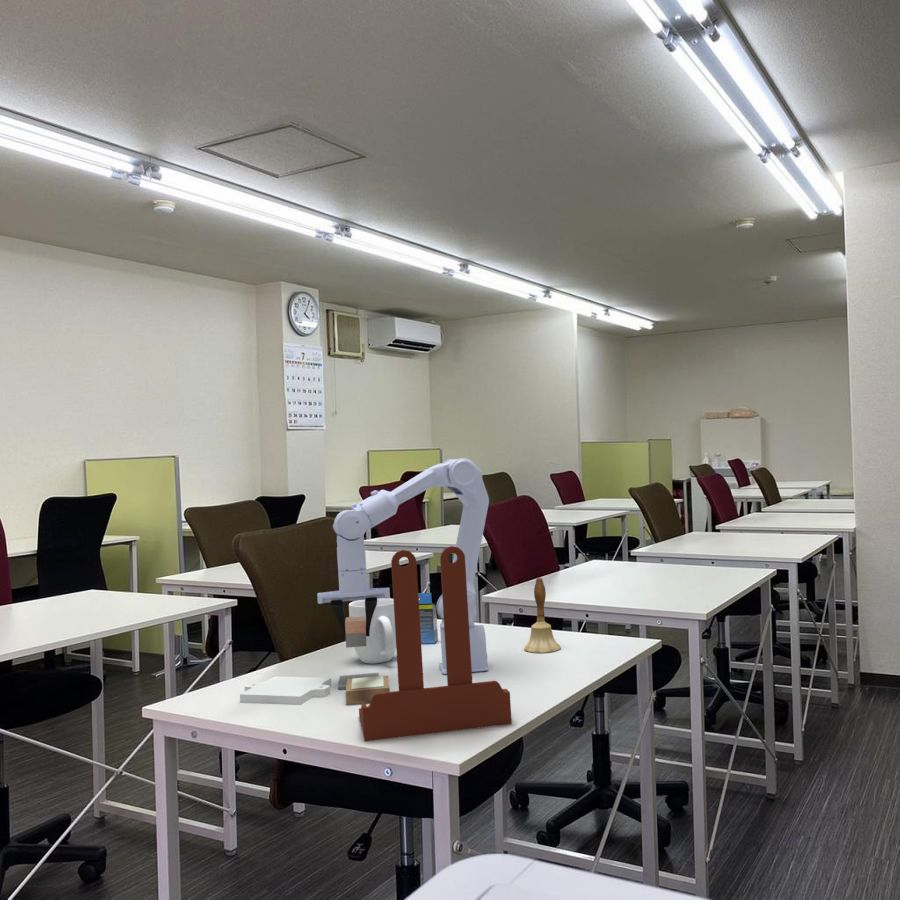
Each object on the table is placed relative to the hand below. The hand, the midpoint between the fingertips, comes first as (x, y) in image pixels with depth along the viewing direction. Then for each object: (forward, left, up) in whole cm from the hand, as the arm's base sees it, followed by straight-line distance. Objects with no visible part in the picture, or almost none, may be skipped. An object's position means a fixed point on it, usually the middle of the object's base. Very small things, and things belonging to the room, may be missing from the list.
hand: (356, 636), depth 172 cm
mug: (-4, -17, -10) cm, 20 cm away
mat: (0, 0, -9) cm, 9 cm away
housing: (0, 0, -2) cm, 2 cm away
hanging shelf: (-13, +29, -10) cm, 33 cm away
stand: (-2, +11, -9) cm, 15 cm away
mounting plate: (+14, +4, -10) cm, 18 cm away
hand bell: (-41, -16, -10) cm, 45 cm away
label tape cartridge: (-14, -33, -10) cm, 37 cm away
